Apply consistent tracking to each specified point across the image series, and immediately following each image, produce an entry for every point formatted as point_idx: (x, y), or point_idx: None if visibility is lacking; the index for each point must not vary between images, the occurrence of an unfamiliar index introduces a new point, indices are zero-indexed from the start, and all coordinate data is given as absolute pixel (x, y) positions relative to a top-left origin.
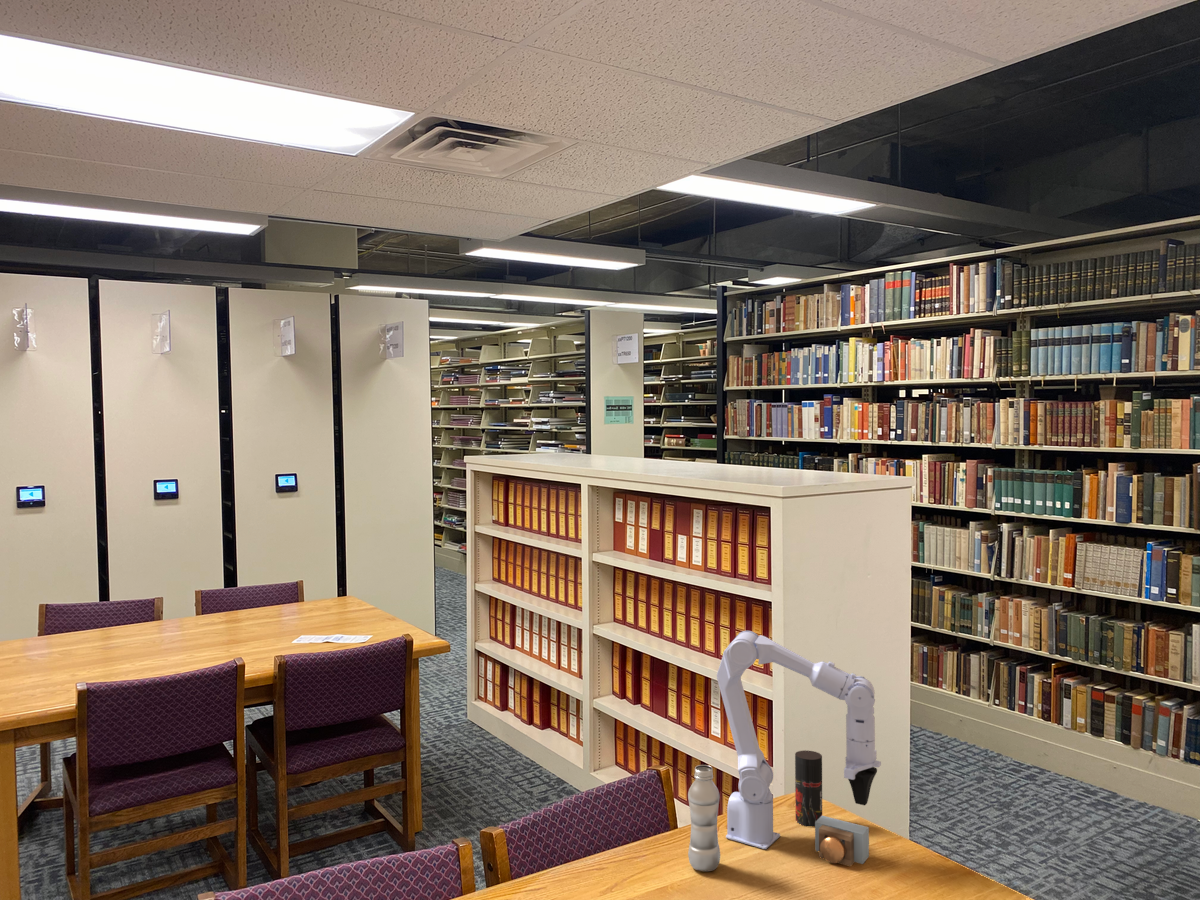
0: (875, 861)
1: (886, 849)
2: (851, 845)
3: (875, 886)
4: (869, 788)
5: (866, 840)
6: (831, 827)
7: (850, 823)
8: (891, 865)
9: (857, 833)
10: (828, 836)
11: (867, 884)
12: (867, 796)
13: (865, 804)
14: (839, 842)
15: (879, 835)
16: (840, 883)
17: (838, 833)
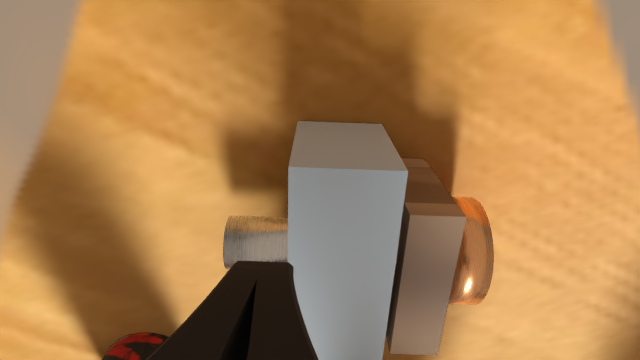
0: (326, 84)
1: (180, 73)
2: (432, 192)
3: (562, 19)
4: (203, 357)
5: (330, 147)
6: (398, 317)
7: (297, 260)
8: (325, 8)
9: (402, 197)
10: (452, 298)
11: (555, 56)
12: (265, 301)
13: (284, 264)
14: (479, 243)
15: (67, 136)
16: (584, 151)
17: (452, 274)
